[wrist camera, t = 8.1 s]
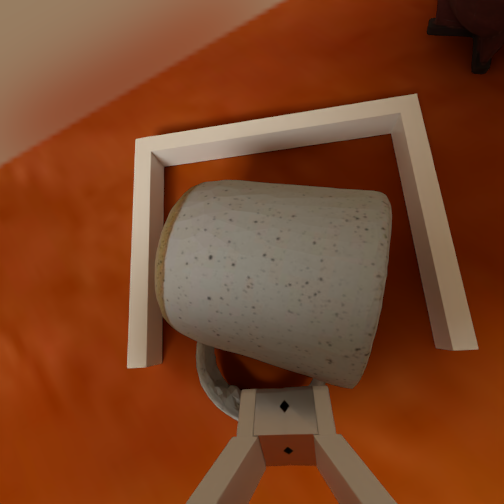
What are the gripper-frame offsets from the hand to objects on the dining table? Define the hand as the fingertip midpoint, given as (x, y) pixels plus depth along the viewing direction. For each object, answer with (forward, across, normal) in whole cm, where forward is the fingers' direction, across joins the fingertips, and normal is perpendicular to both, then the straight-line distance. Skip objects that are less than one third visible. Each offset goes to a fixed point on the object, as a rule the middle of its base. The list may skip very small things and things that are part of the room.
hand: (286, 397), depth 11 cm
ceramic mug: (+6, 0, +1) cm, 6 cm away
